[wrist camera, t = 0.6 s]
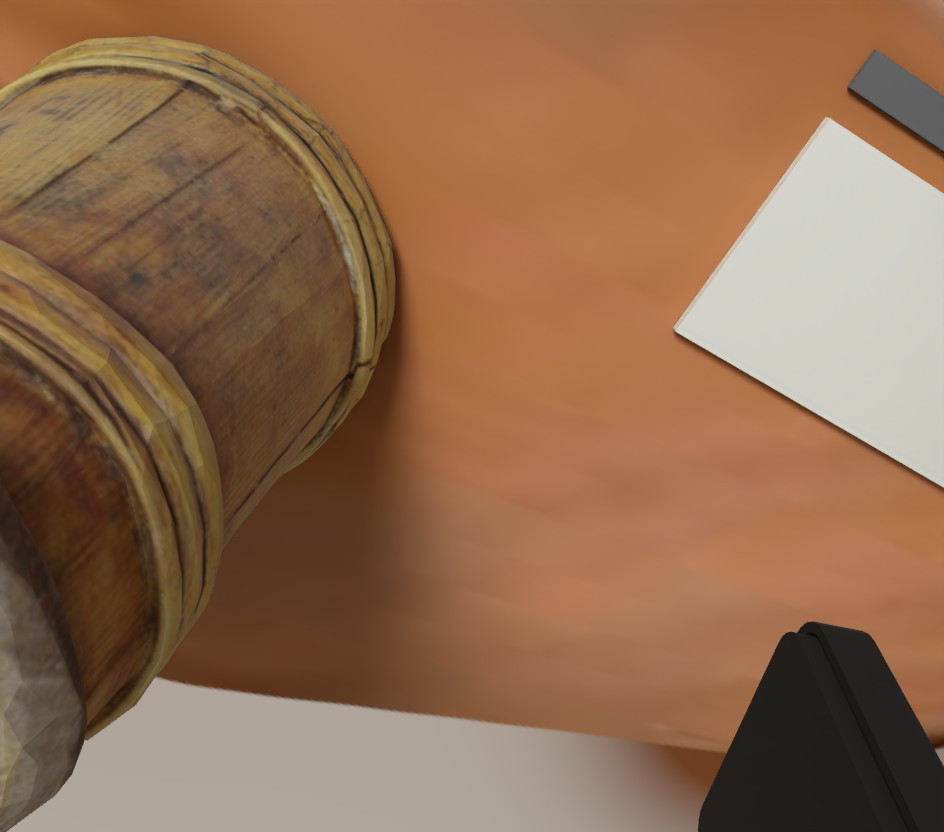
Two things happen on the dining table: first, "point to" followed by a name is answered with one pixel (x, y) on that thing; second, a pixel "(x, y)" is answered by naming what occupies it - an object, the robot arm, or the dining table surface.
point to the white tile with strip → (845, 283)
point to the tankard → (156, 360)
